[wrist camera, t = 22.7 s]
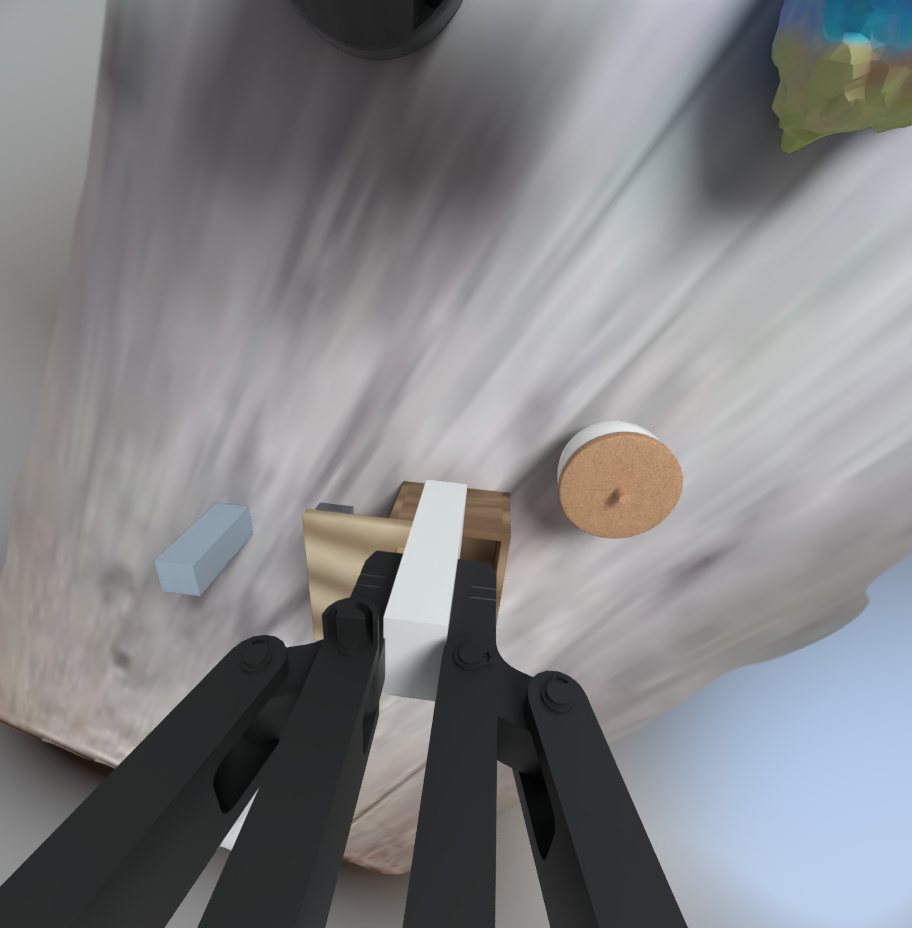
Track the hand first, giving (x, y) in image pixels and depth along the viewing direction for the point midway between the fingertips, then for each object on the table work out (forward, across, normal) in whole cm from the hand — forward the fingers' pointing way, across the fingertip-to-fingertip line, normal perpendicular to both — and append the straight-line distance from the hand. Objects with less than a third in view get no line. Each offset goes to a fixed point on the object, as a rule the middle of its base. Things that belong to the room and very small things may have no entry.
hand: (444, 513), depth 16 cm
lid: (+21, -9, -24) cm, 33 cm away
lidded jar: (+30, +14, -10) cm, 34 cm away
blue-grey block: (+29, -28, -24) cm, 47 cm away
